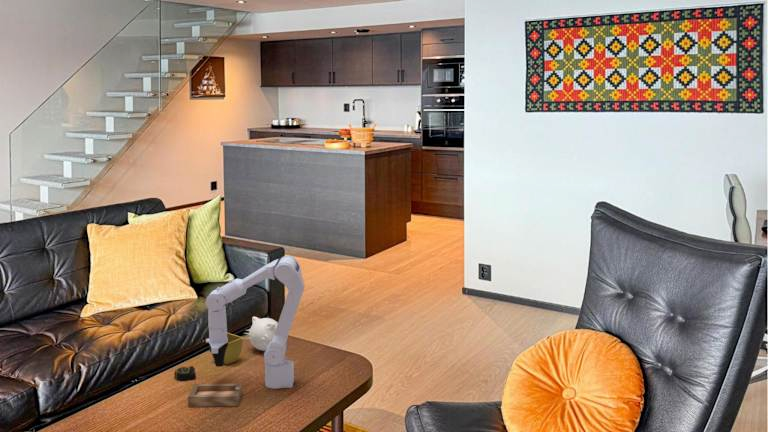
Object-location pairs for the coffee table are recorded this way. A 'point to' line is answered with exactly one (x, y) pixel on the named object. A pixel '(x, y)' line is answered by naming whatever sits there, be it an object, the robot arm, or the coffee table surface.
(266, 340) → the cat head
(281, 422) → the coffee table surface
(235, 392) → the wooden tray
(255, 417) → the coffee table surface
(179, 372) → the tape measure
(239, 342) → the flower pot
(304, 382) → the coffee table surface
